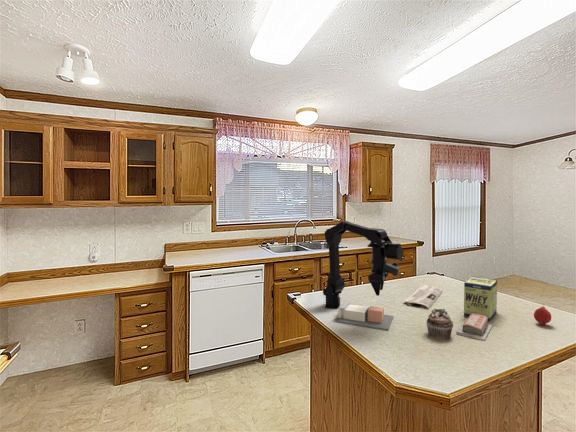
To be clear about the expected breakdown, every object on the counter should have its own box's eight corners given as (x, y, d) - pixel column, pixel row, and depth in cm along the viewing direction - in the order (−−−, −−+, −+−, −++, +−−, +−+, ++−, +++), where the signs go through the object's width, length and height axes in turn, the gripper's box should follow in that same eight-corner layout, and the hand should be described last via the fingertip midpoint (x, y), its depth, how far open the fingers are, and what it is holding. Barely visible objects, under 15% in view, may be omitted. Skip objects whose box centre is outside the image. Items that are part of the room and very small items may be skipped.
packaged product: (466, 310, 140) (492, 315, 133) (466, 321, 140) (492, 327, 133) (455, 323, 126) (485, 329, 119) (455, 335, 126) (484, 342, 120)
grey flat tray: (334, 321, 140) (334, 309, 140) (344, 310, 155) (344, 298, 154) (388, 330, 130) (388, 317, 130) (393, 317, 145) (393, 305, 144)
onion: (546, 328, 130) (547, 309, 129) (530, 323, 135) (531, 305, 134) (553, 325, 133) (554, 307, 132) (537, 321, 138) (538, 303, 137)
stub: (367, 320, 139) (367, 309, 139) (370, 316, 144) (370, 306, 144) (381, 323, 137) (382, 311, 136) (383, 318, 141) (383, 307, 141)
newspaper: (428, 310, 154) (428, 303, 154) (402, 305, 161) (402, 298, 161) (443, 292, 182) (443, 286, 182) (420, 288, 190) (420, 283, 189)
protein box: (463, 316, 145) (463, 282, 144) (472, 307, 156) (472, 276, 155) (490, 322, 138) (490, 286, 137) (497, 312, 149) (497, 279, 148)
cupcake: (422, 330, 131) (422, 306, 130) (446, 329, 130) (446, 306, 130) (432, 340, 121) (432, 314, 120) (457, 340, 121) (458, 314, 120)
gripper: (395, 262, 128) (396, 300, 128) (400, 254, 145) (400, 288, 145) (367, 261, 133) (368, 297, 133) (375, 254, 149) (376, 286, 150)
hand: (379, 292), depth 140 cm, fingers open, 9 cm apart
